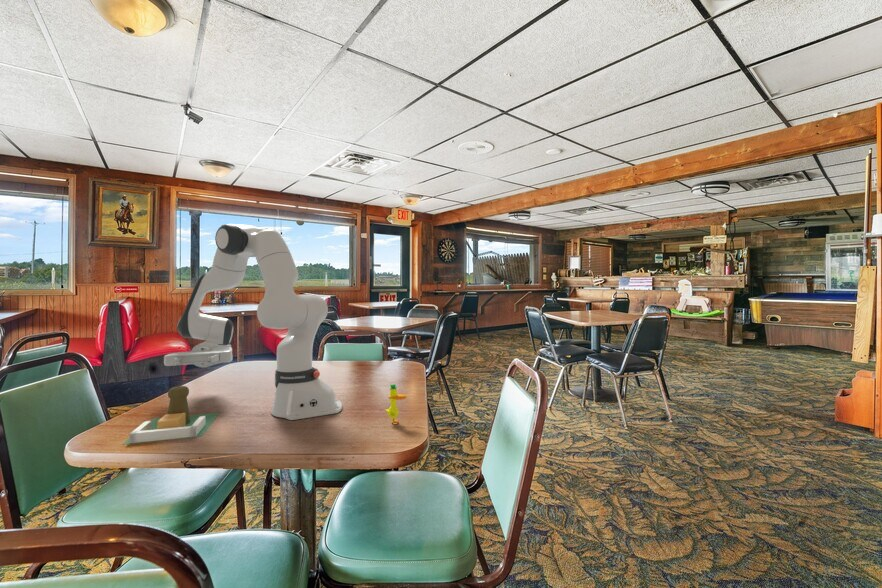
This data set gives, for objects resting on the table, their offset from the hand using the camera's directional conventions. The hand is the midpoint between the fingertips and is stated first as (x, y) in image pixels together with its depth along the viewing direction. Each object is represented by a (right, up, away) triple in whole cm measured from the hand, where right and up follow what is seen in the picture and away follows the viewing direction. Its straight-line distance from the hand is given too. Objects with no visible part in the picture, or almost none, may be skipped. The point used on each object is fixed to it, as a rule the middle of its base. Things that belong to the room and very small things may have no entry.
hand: (193, 361), depth 123 cm
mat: (+4, -17, -14) cm, 23 cm away
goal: (+6, -17, -19) cm, 26 cm away
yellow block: (+5, -17, -17) cm, 25 cm away
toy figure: (+68, -18, -9) cm, 71 cm away
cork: (+3, -17, -12) cm, 21 cm away
